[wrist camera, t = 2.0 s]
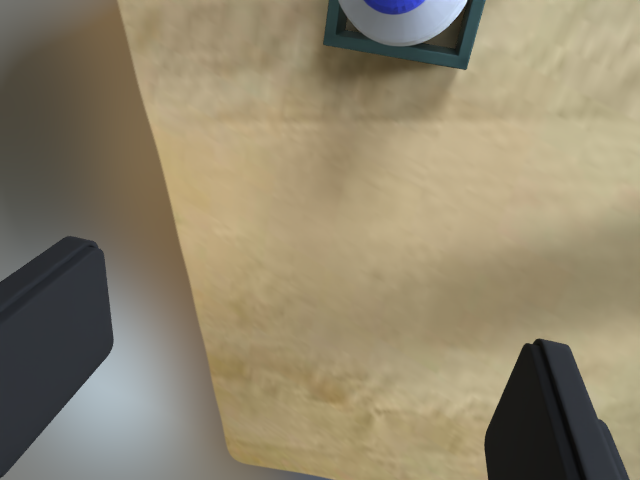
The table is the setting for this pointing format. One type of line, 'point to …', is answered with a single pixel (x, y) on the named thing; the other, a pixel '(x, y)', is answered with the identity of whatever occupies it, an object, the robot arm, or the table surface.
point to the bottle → (401, 19)
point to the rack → (417, 52)
